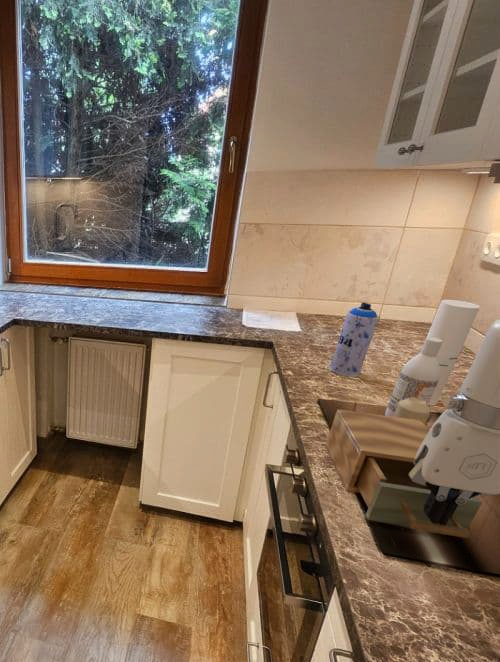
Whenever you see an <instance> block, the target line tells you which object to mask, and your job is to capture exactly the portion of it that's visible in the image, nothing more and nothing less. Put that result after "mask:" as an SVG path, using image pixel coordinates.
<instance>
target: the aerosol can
mask: <svg viewBox="0 0 500 662" xmlns="http://www.w3.org/2000/svg"><path fill="white" fill-rule="evenodd" d="M371 307H372V304H371V303H368V302H361V304H360V306H357V307H353V308H352V309H351V310H349V311H347V313H346V315H345V319H344V322H343V325H342V328H341V332H340V334H339V339H338V341H337V344H336V347H335V351H334V354H333V357H332V360H331V362H330V365H329V368H328V369H329V371H331V372H332V373H334V374H336V375H338V376H341V377H347V378H357V377H360V375H361V371H362V367H363V365H364V362H365V359H366V356H367V353H368V350H369V348H370V345H371V342H372V339H373V335H374V333H375V330H376V327H377V325H378V322H379V315H377V312H376V311H375V310H373V309H372V308H371Z"/></svg>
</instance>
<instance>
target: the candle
mask: <svg viewBox="0 0 500 662" xmlns="http://www.w3.org/2000/svg"><path fill="white" fill-rule="evenodd" d="M431 411H432V410H431V408H430V406H428V405H427V403H426V401H421V400H419V399H418V398H416V397H411V398H408V399H404V400H402V401H400V402H399V403H398V406H397V408H396V411H395V413H394V416H393V417H399V418H407V419H414V420H421V421H422V423H423V424H424V425H425V424H426V422H427V420H428V418H429V416H430V413H431ZM425 426H426V425H425Z"/></svg>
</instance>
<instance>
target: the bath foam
mask: <svg viewBox="0 0 500 662" xmlns="http://www.w3.org/2000/svg"><path fill="white" fill-rule="evenodd" d="M442 342H443V341H442V340H441V339H438V338H433V337H427V336H426V338H425V340H424V342H423V345H422V347H421V350H420V351H419V353H418V354H417V355H415V356H413V357H412V358H410V359H409V360H408V361H407V362H406V363H405V364H404V366H402V369H401V370H400V373H399V375H398V378H397V381H396V382H395V386H394V388H393V390H392V394H391V395H390V399H389V401H388V404H387V407H386V409H385V411H384V416H392V417H393V416H394V413H395V411H396V408H397V406H398V403H399V402H400V401H402V400H404V399H408V398H411V397H416V398H418V399H419V400H421V401H426V403H427V405H428V404H429V401H430V399H431V397H432V394H433V392H434V390H435V388H436V385H437V383H438V381H439V378H440V366H439V363H438V360H437V357H436V356H437V354H438V351H439V349H440V347H441V344H442Z"/></svg>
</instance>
